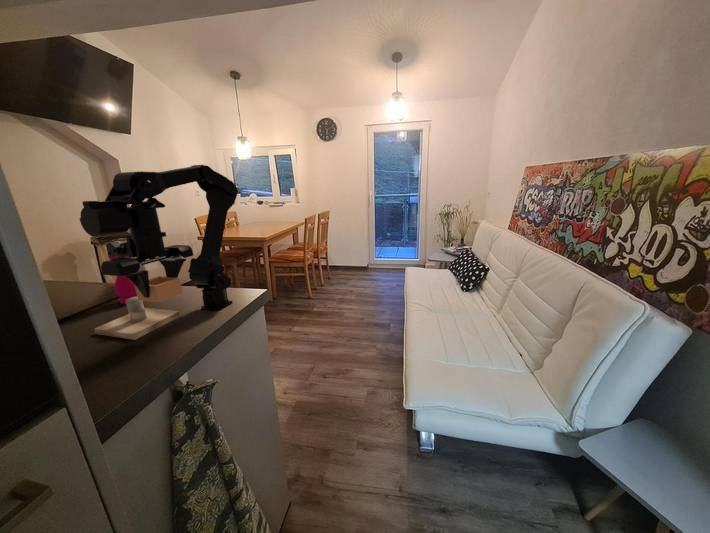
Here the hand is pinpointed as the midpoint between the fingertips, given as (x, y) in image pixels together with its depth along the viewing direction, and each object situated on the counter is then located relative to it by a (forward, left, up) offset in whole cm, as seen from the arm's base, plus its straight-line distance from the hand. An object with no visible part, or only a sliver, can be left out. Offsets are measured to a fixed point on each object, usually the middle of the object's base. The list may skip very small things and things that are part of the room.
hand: (160, 292), depth 68 cm
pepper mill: (-14, -31, -11) cm, 36 cm away
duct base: (-1, -11, -11) cm, 15 cm away
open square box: (0, 0, -1) cm, 1 cm away
